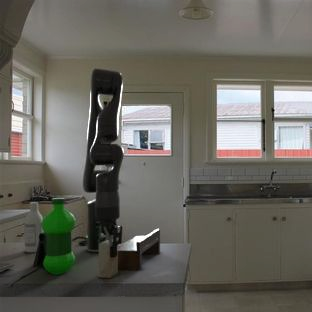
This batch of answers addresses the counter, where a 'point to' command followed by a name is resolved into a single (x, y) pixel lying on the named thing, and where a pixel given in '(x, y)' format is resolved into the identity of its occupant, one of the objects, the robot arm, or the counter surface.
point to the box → (107, 261)
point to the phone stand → (40, 251)
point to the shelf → (138, 250)
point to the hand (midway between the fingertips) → (108, 255)
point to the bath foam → (33, 228)
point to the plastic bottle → (58, 238)
